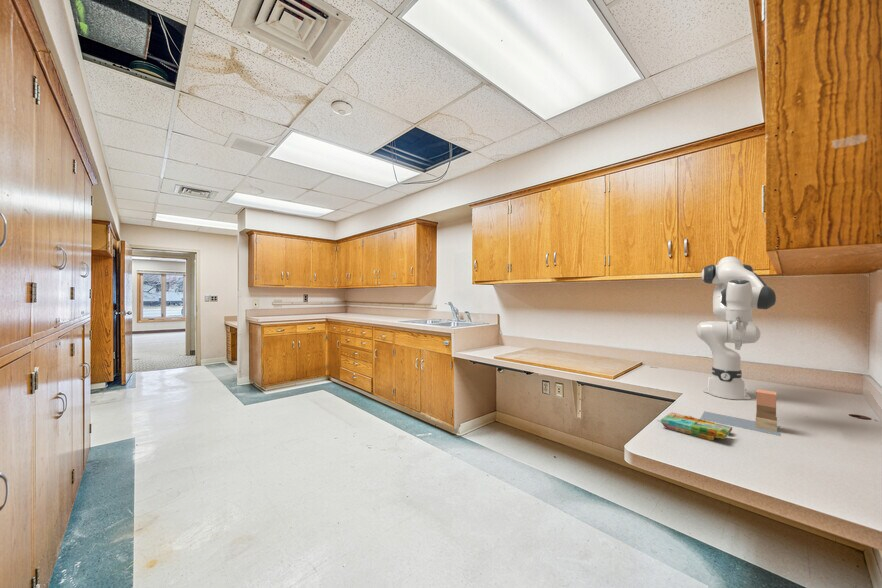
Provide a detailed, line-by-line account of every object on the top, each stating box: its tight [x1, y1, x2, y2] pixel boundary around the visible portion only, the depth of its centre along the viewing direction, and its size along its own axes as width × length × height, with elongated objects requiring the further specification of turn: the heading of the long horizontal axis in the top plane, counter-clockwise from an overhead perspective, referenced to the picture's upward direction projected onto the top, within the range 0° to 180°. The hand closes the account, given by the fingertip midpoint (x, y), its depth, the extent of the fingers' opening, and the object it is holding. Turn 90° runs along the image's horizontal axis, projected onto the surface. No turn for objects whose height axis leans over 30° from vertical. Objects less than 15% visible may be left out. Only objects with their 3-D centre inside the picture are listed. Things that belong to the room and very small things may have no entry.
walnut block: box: [755, 404, 777, 421], centre depth 134 cm, size 6×6×5 cm
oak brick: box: [755, 416, 778, 432], centre depth 133 cm, size 6×6×4 cm
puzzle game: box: [660, 412, 733, 441], centre depth 132 cm, size 12×5×20 cm
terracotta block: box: [756, 388, 777, 409], centre depth 133 cm, size 6×6×5 cm
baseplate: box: [699, 411, 782, 437], centre depth 138 cm, size 13×24×1 cm, turn 46°
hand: (738, 348), depth 149 cm, fingers open, 8 cm apart
